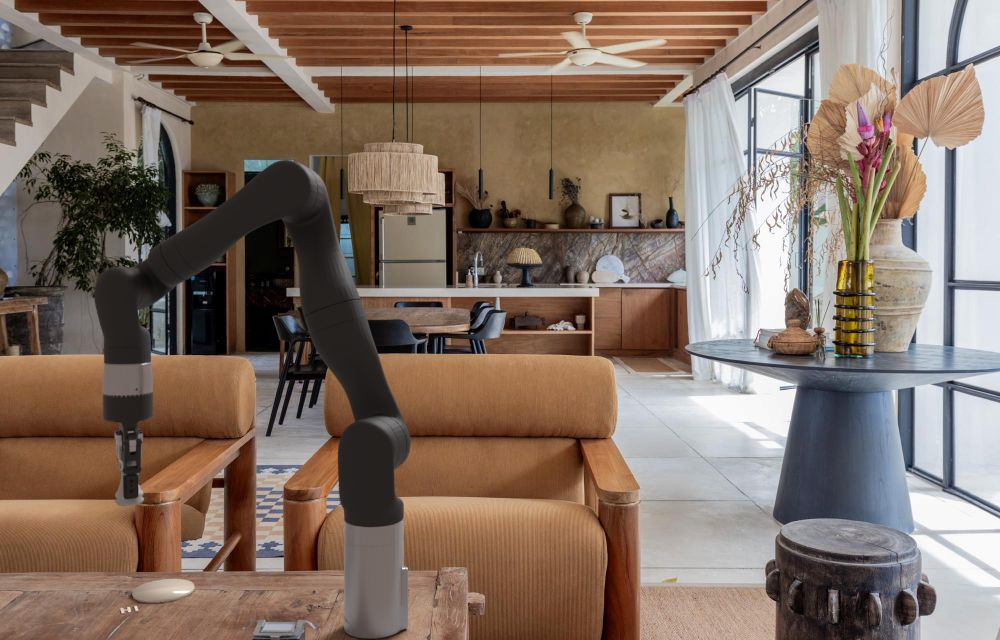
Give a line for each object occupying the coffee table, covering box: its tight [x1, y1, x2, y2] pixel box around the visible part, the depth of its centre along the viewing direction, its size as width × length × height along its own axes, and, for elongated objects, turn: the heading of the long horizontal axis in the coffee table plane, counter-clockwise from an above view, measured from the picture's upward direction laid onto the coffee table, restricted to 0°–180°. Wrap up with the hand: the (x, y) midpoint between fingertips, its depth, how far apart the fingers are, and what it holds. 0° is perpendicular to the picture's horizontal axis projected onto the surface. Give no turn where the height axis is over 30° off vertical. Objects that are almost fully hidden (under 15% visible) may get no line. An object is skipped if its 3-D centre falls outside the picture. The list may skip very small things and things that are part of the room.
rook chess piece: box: [114, 460, 145, 507], centre depth 140 cm, size 4×4×8 cm
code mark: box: [119, 605, 139, 615], centre depth 141 cm, size 2×2×1 cm
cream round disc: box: [132, 578, 195, 604], centre depth 149 cm, size 10×10×1 cm
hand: (129, 494), depth 140 cm, fingers closed on rook chess piece, 4 cm apart
